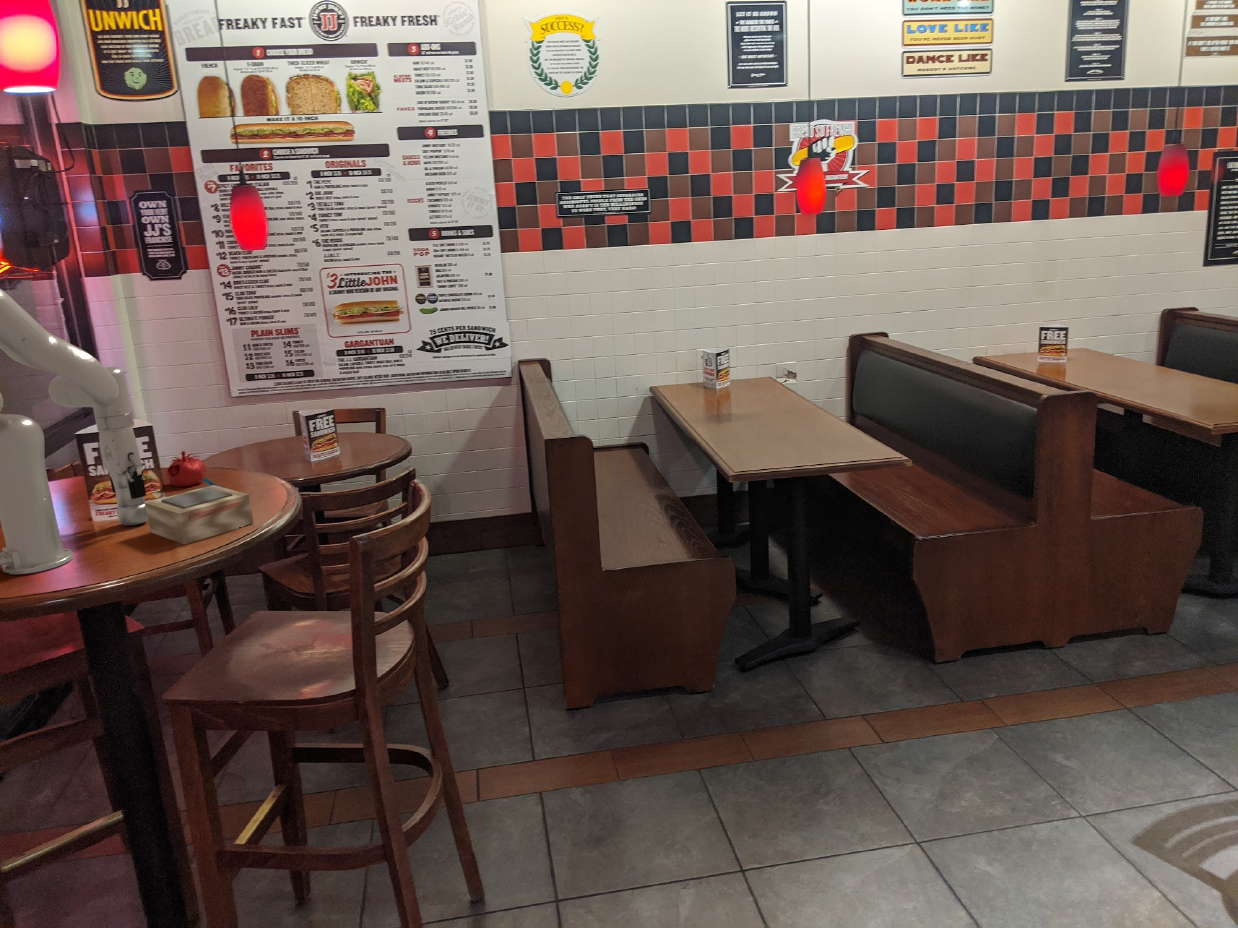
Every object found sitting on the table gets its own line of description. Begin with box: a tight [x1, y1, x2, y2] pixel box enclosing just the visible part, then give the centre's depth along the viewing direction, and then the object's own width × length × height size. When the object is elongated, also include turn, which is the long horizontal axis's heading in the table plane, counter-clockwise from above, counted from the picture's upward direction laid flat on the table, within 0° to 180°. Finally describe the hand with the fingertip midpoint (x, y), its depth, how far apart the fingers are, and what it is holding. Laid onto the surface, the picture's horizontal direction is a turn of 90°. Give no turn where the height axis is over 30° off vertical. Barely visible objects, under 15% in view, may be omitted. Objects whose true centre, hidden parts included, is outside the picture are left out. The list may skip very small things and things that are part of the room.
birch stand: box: [145, 485, 254, 545], centre depth 208 cm, size 16×16×7 cm
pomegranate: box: [165, 450, 207, 488], centre depth 248 cm, size 10×10×9 cm
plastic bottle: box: [107, 460, 149, 526], centre depth 212 cm, size 6×7×20 cm
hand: (129, 494), depth 213 cm, fingers open, 9 cm apart
